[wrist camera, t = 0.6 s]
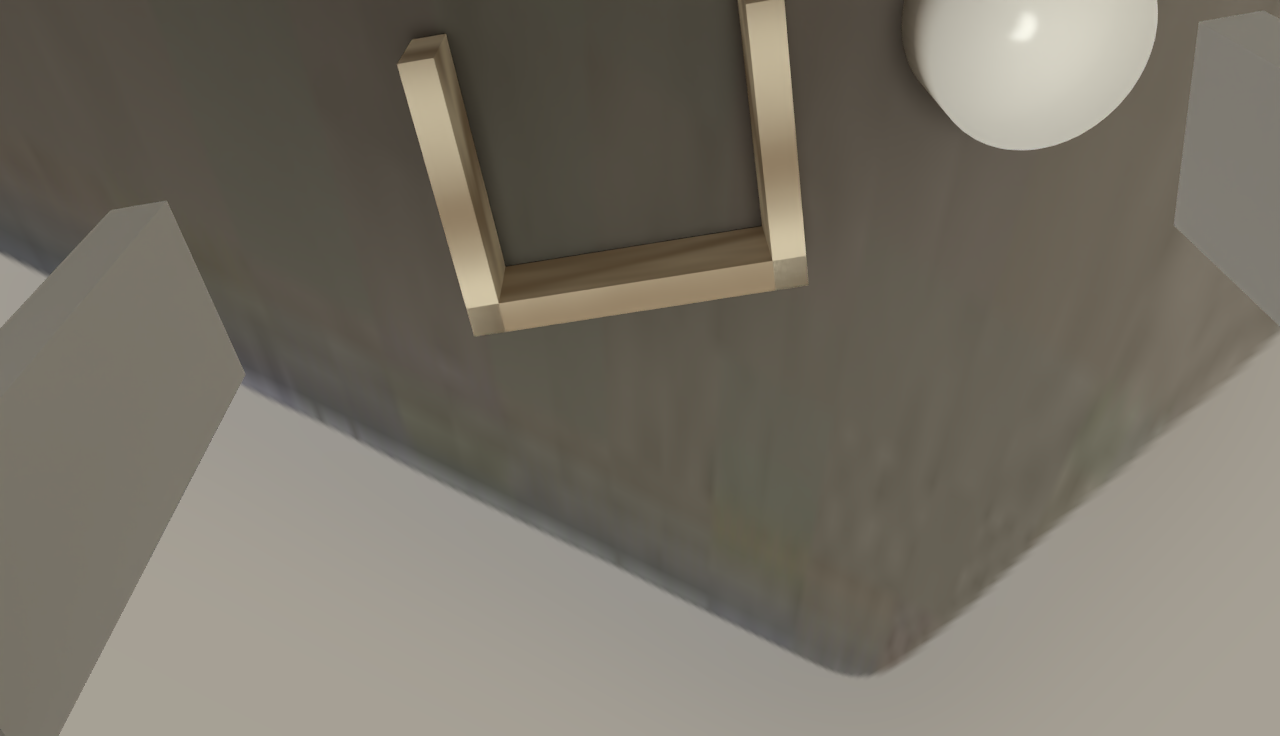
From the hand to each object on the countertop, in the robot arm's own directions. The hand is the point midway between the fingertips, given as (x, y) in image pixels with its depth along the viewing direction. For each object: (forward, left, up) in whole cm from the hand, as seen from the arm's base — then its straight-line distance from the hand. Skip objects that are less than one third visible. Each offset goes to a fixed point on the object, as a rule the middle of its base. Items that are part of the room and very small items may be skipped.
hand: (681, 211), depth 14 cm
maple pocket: (+7, -2, -24) cm, 25 cm away
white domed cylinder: (+5, +12, -24) cm, 27 cm away
